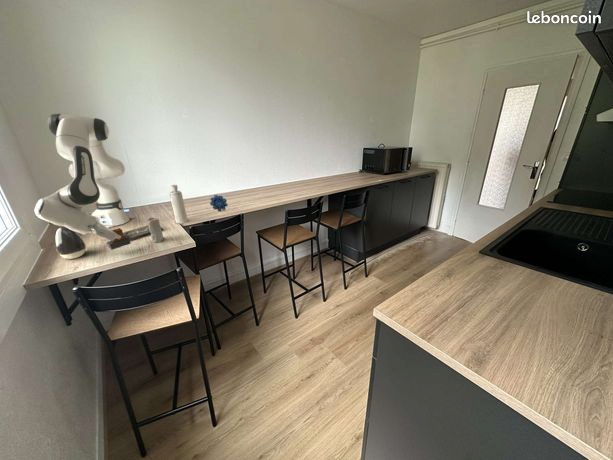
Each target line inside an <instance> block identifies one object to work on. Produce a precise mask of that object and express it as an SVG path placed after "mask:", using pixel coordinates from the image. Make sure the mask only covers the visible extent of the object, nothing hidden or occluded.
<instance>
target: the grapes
mask: <svg viewBox="0 0 613 460" xmlns="http://www.w3.org/2000/svg"><path fill="white" fill-rule="evenodd" d="M227 201H228V200H227V198H225V197H224V196H223V195H218V194H215V195H214V196H213V197H210V202H209V205H210V206H211V207H212V209H213V210H217V211H218V212H222V211H225V210H226V208H227V207H228V202H227Z"/></svg>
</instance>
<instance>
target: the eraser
mask: <svg viewBox="0 0 613 460" xmlns="http://www.w3.org/2000/svg"><path fill="white" fill-rule="evenodd" d="M111 230H112V231H113V232H115V233H117V234H118V235H120V236H121V238H120V239H116V238H115V239H114V240H113V241H112V240H108V241H106V244H107V246H108V248H109V249H110V250H111V251H113V250H116V249H119V248H122V247H125V246H128V245H131V244H132V243H131V241H130V240H129V238H128V237H126V236H125V237H124V234H123V233H124V232H123V229H122V228H120V227H119V228H115V229H111Z"/></svg>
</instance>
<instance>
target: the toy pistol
mask: <svg viewBox="0 0 613 460" xmlns="http://www.w3.org/2000/svg"><path fill="white" fill-rule="evenodd" d="M161 230H162V232H163V231H164V229H163V227H161ZM123 234H124V237H125V236H126V237H128V238H129V240H130V242H131V241H134V240H138V239H140V238H144V237H148V236H151V234H150V230H149V227H148V224H147V225H144V226H140V227H137V228H135V229H131V230H127V231H124V232H123Z"/></svg>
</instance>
